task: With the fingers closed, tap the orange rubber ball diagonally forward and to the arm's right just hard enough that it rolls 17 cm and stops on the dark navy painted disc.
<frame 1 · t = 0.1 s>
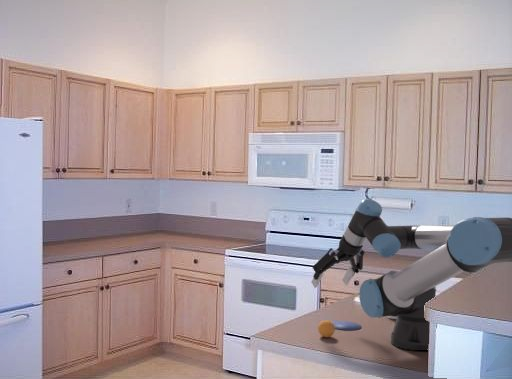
hand: (329, 283, 202), 15 cm above the countertop, fingers open, 13 cm apart
dixie cup: (392, 317, 218), on the countertop
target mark: (344, 325, 203), on the countertop
ball: (326, 328, 188), on the countertop
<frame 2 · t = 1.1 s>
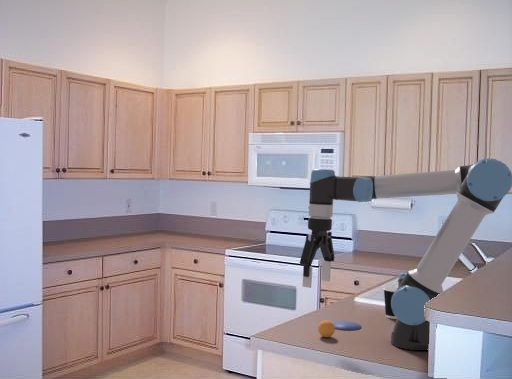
hand: (316, 283, 181), 19 cm above the countertop, fingers open, 13 cm apart
nothing on the countertop moved.
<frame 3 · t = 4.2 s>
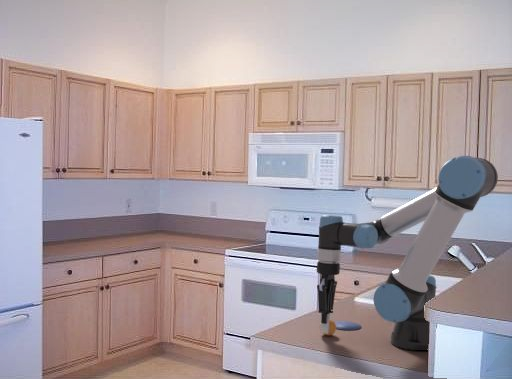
hand: (324, 332, 188), 2 cm above the countertop, fingers closed
ball: (328, 327, 190), on the countertop, touching gripper
everything else where it was.
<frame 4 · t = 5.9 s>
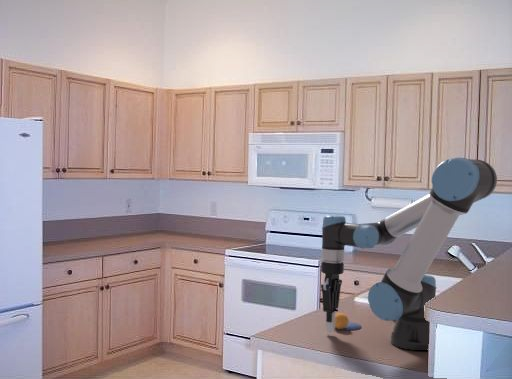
hand: (330, 330, 191), 1 cm above the countertop, fingers closed
ball: (340, 321, 199), on the countertop
everything else where it was.
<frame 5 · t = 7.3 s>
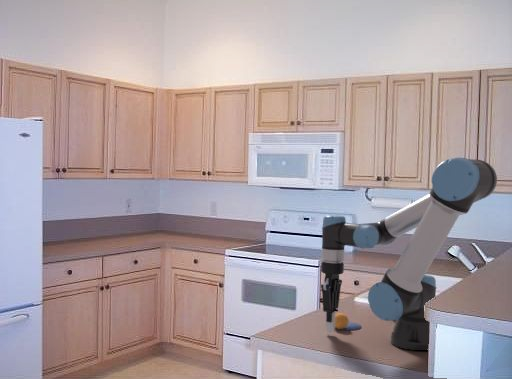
hand: (330, 330, 191), 1 cm above the countertop, fingers closed
nothing on the countertop moved.
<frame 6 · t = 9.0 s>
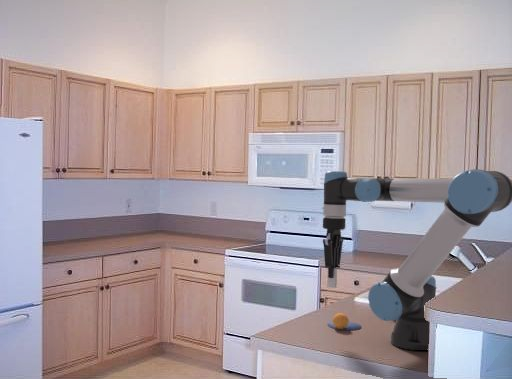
hand: (331, 287, 191), 16 cm above the countertop, fingers closed
nothing on the countertop moved.
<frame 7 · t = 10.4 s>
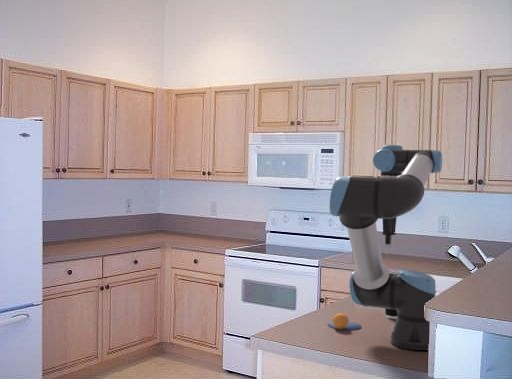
hand: (388, 252, 205), 26 cm above the countertop, fingers closed
nothing on the countertop moved.
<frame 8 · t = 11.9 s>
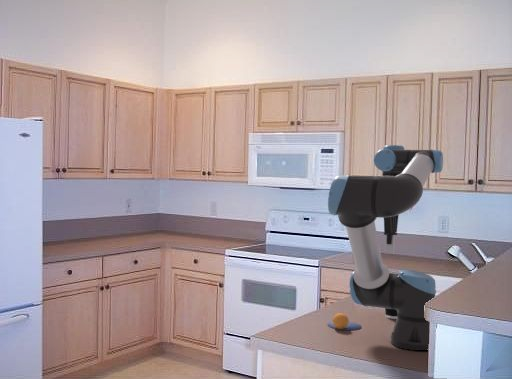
hand: (389, 252, 206), 26 cm above the countertop, fingers closed
nothing on the countertop moved.
at the end: ball 4.7 cm from the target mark (horizontally); ball at rest at the end (0.0 cm/s); ball moved 12.3 cm from its start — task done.
